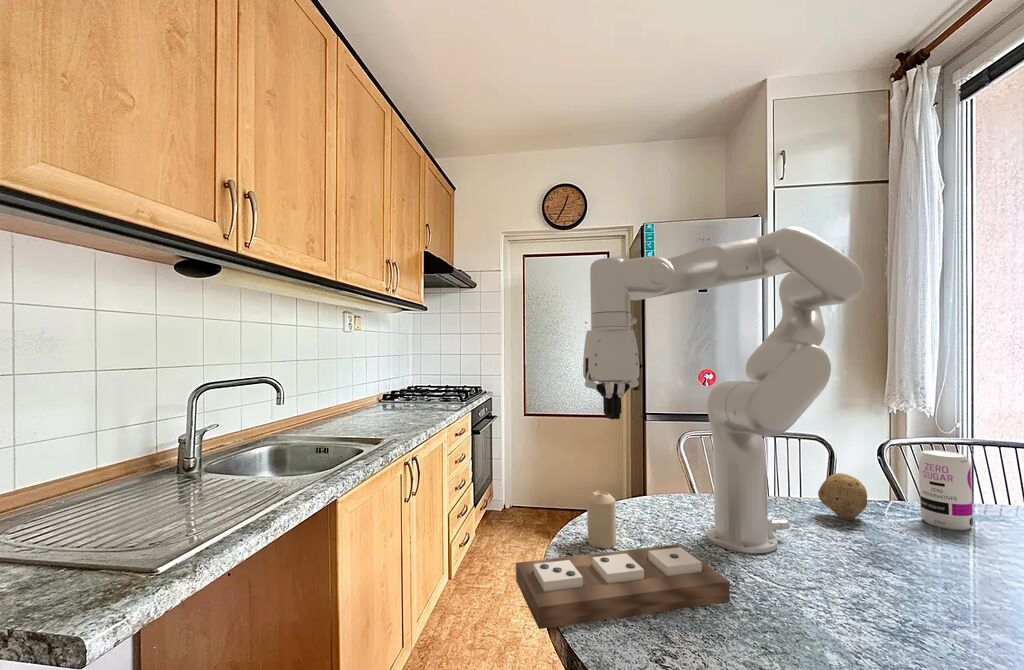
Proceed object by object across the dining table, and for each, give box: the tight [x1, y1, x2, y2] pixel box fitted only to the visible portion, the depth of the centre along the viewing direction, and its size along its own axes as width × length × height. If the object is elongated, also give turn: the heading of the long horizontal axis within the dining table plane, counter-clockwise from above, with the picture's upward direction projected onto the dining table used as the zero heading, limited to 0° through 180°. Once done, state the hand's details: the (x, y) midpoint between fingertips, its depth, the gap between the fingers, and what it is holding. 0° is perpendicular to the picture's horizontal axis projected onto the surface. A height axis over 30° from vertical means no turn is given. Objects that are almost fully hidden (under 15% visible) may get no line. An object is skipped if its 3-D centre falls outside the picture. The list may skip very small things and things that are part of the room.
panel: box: [515, 544, 731, 630], centre depth 75 cm, size 30×14×3 cm, turn 102°
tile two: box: [593, 554, 644, 584], centre depth 75 cm, size 6×6×3 cm
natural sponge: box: [817, 472, 868, 521], centre depth 105 cm, size 9×9×10 cm
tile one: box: [648, 546, 703, 576], centre depth 77 cm, size 6×6×3 cm
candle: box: [586, 489, 617, 549], centre depth 94 cm, size 6×6×10 cm
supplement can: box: [918, 449, 974, 531], centre depth 101 cm, size 8×8×15 cm
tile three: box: [534, 560, 583, 592], centre depth 73 cm, size 6×6×3 cm
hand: (612, 418), depth 91 cm, fingers closed
